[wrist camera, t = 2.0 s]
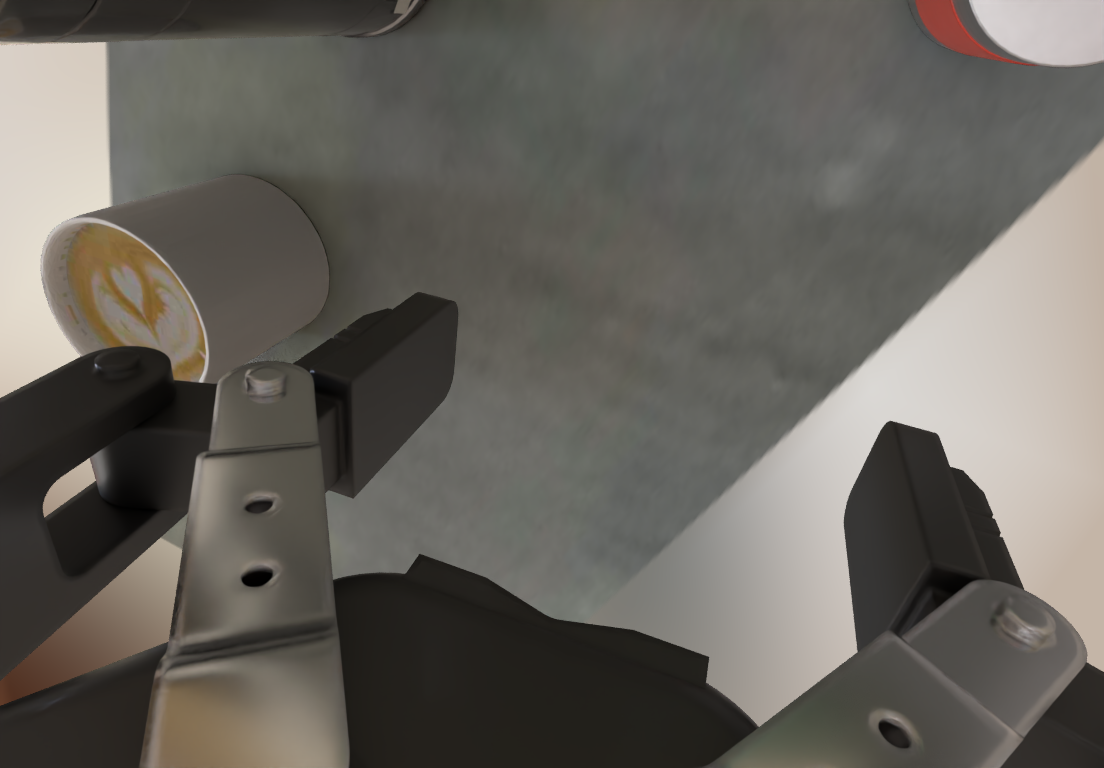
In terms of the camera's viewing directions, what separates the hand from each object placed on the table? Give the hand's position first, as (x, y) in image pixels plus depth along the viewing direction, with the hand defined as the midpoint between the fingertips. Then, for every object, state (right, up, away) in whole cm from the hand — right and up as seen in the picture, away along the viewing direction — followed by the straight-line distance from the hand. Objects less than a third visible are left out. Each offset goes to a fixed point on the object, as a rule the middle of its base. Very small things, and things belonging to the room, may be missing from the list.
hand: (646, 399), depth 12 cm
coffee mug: (-21, +7, +30) cm, 37 cm away
